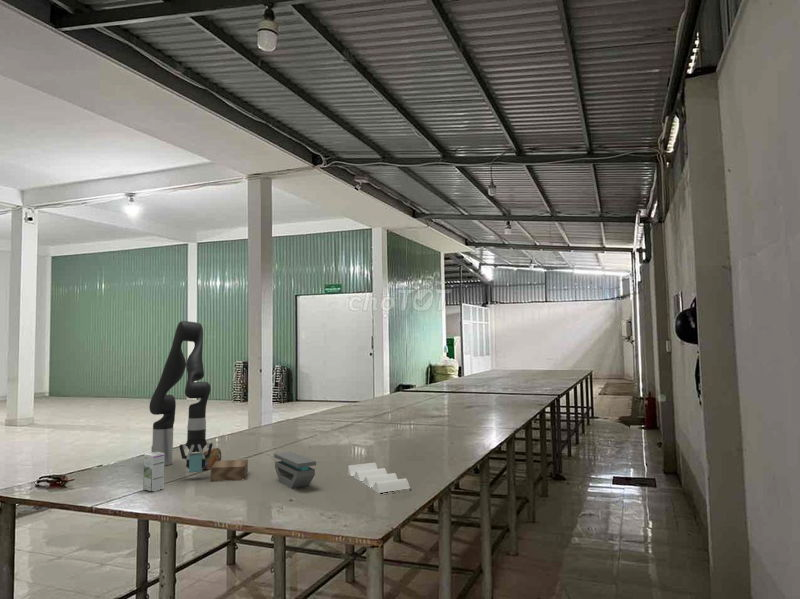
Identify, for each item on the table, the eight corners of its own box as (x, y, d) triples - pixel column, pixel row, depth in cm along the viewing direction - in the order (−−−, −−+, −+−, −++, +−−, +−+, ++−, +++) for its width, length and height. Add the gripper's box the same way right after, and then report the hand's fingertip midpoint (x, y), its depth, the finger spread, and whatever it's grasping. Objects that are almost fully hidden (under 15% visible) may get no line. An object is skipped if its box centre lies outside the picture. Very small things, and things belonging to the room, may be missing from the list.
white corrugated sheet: (381, 496, 214) (381, 483, 214) (348, 477, 245) (348, 465, 246) (411, 492, 220) (411, 479, 220) (375, 474, 251) (375, 462, 251)
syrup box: (164, 489, 225) (165, 452, 226) (151, 492, 219) (152, 455, 221) (155, 487, 227) (156, 451, 229) (142, 490, 222) (143, 453, 223)
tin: (205, 471, 256) (205, 452, 256) (198, 471, 256) (199, 452, 257) (221, 464, 270) (222, 446, 271) (215, 464, 271) (216, 446, 272)
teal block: (188, 472, 238) (189, 455, 239) (190, 469, 243) (190, 453, 244) (201, 471, 240) (201, 455, 240) (202, 469, 244) (202, 452, 245)
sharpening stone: (273, 479, 240) (274, 453, 241) (290, 476, 244) (291, 451, 245) (297, 492, 219) (298, 463, 220) (316, 489, 224) (316, 461, 225)
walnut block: (210, 482, 237) (210, 467, 237) (215, 474, 250) (215, 461, 251) (244, 480, 239) (244, 466, 240) (247, 473, 253) (247, 459, 253)
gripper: (214, 426, 248) (213, 465, 247) (180, 427, 244) (178, 467, 243) (213, 428, 241) (212, 468, 240) (178, 430, 237) (176, 471, 236)
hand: (195, 467), depth 241 cm, fingers closed on teal block, 5 cm apart
